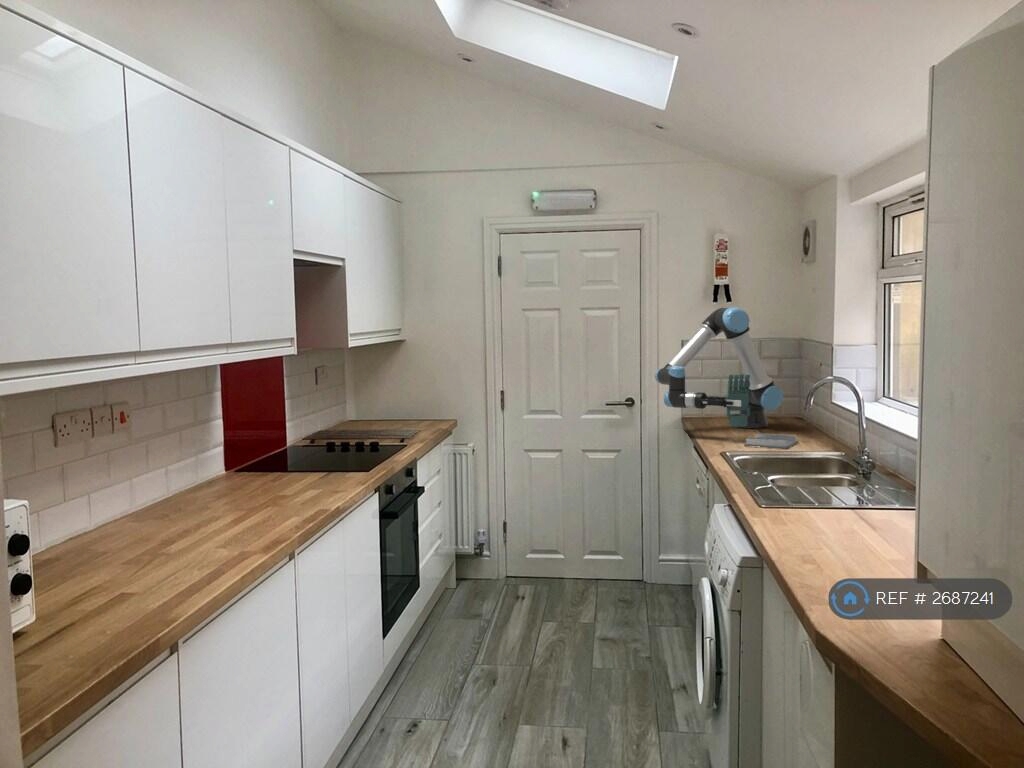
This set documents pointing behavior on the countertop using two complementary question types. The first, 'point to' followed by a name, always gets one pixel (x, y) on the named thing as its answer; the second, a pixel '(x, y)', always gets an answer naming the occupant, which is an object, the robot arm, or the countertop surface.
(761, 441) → the rail dock
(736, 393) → the robotic hand
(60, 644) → the countertop surface
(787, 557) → the countertop surface
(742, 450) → the countertop surface
